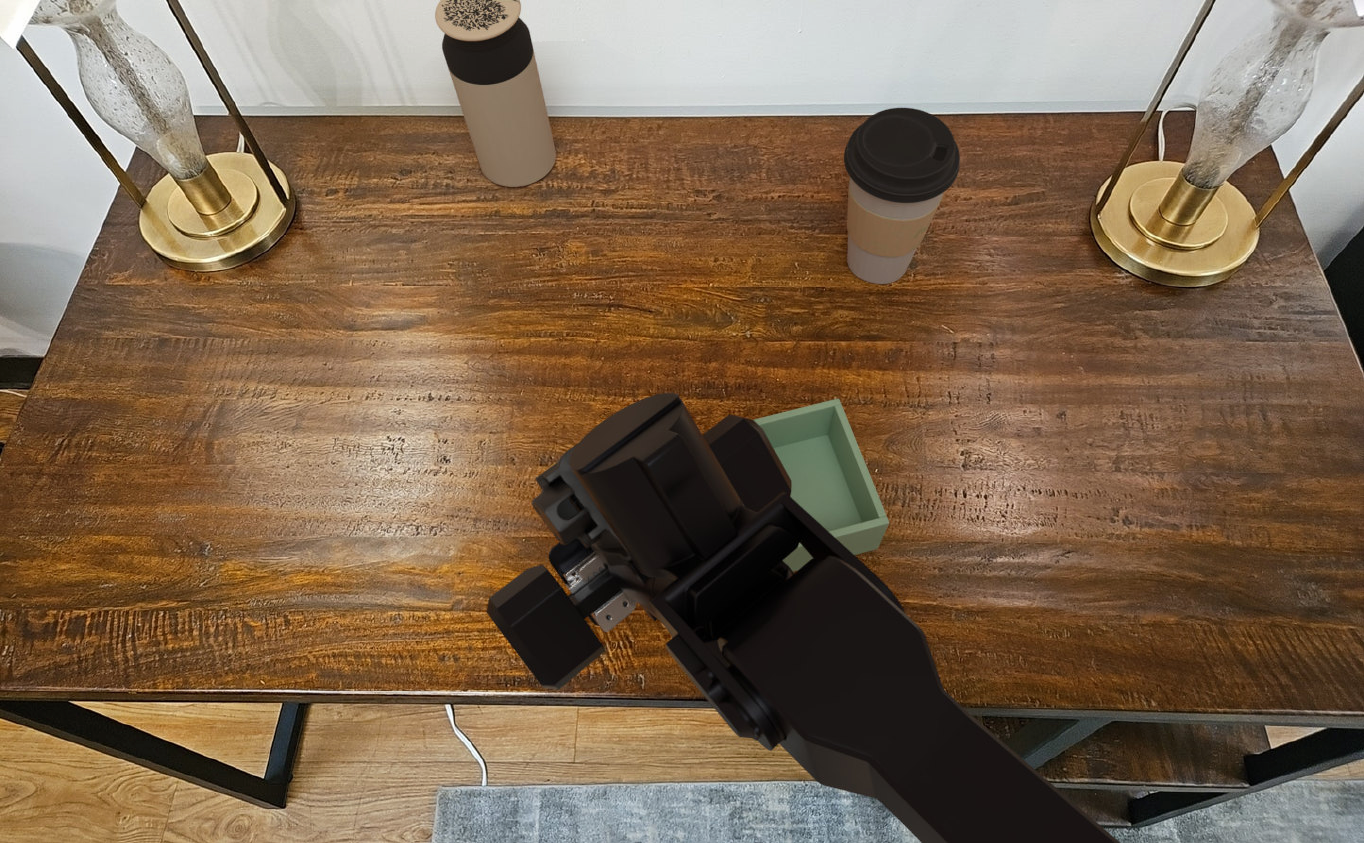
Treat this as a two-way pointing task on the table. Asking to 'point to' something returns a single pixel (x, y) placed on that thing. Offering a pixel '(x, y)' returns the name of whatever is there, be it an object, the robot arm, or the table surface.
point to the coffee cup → (895, 188)
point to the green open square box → (827, 476)
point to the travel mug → (498, 88)
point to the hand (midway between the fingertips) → (598, 514)
